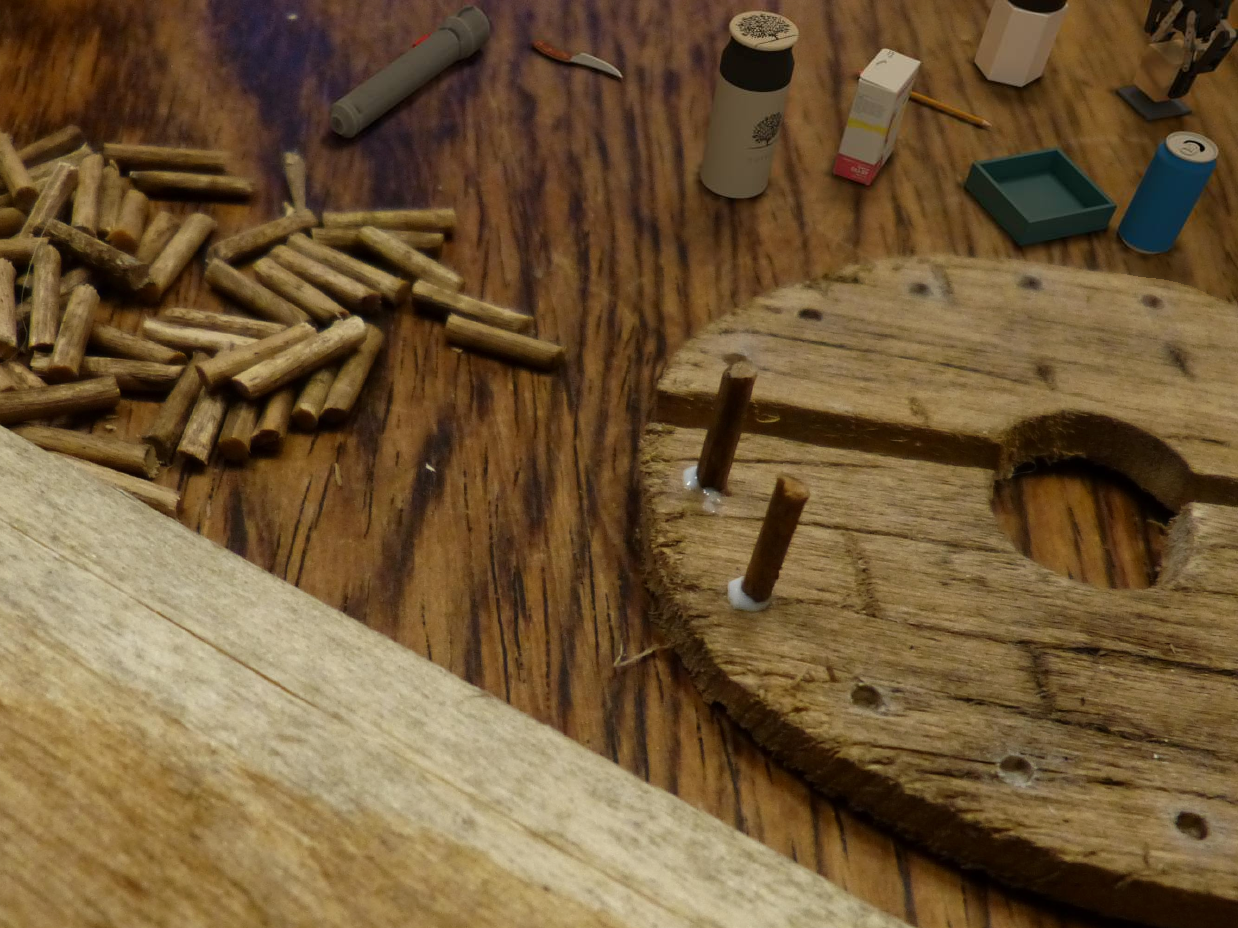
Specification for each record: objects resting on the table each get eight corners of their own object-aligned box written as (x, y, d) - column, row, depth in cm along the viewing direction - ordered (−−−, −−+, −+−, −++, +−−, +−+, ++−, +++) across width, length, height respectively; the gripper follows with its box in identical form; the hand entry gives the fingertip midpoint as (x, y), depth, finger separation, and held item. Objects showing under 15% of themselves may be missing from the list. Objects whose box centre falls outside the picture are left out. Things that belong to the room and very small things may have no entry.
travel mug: (688, 167, 151) (715, 14, 136) (748, 156, 153) (780, 5, 138) (717, 205, 147) (747, 52, 132) (778, 194, 149) (814, 42, 134)
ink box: (868, 187, 151) (897, 92, 141) (830, 173, 152) (856, 78, 142) (893, 153, 155) (923, 58, 145) (856, 140, 156) (883, 45, 147)
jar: (1001, 45, 172) (1034, -48, 162) (1051, 72, 169) (1088, -21, 159) (961, 66, 168) (993, -28, 158) (1012, 94, 165) (1048, 0, 155)
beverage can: (1181, 243, 148) (1233, 148, 138) (1153, 265, 145) (1204, 170, 136) (1133, 217, 151) (1181, 122, 141) (1104, 238, 148) (1151, 143, 138)
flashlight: (346, 154, 150) (315, 123, 149) (482, 53, 164) (454, 24, 163) (359, 126, 146) (327, 93, 145) (497, 25, 159) (468, -5, 159)
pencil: (857, 77, 165) (858, 70, 164) (859, 74, 165) (861, 68, 164) (992, 131, 159) (994, 125, 159) (994, 128, 160) (996, 122, 159)
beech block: (1186, 97, 164) (1205, 59, 160) (1155, 102, 163) (1173, 64, 158) (1162, 76, 166) (1180, 38, 162) (1131, 82, 165) (1149, 43, 161)
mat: (1190, 113, 165) (1192, 110, 165) (1147, 120, 163) (1148, 117, 163) (1158, 84, 169) (1159, 81, 168) (1115, 91, 167) (1116, 88, 167)
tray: (1106, 228, 149) (1117, 205, 146) (1019, 246, 146) (1029, 222, 143) (1048, 170, 155) (1058, 146, 153) (963, 185, 152) (972, 162, 150)
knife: (631, 66, 161) (622, 76, 160) (631, 70, 162) (621, 81, 160) (538, 36, 164) (528, 46, 162) (538, 40, 165) (527, 50, 163)
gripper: (1292, -27, 147) (1219, 111, 161) (1214, -84, 155) (1151, 53, 169) (1241, -20, 145) (1171, 119, 159) (1165, -78, 153) (1105, 60, 167)
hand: (1161, 84), depth 164 cm, fingers closed on beech block, 5 cm apart
